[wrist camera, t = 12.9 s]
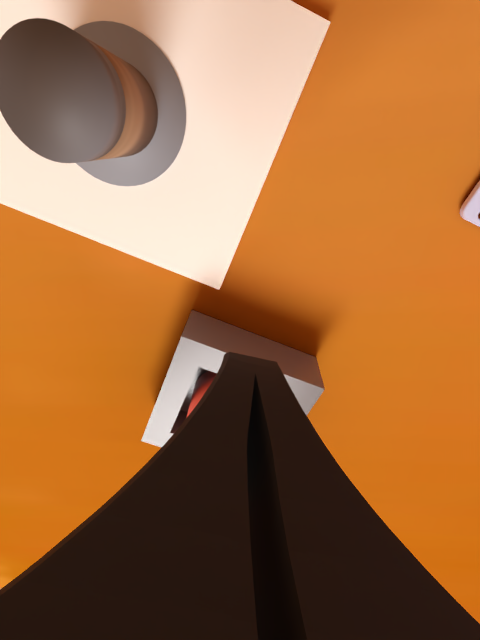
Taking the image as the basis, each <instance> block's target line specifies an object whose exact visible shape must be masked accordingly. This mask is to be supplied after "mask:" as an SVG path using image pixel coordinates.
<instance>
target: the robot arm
mask: <svg viewBox="0 0 480 640" xmlns="http://www.w3.org/2000/svg"><path fill="white" fill-rule="evenodd" d="M479 212H480V180H479V182H478V183H477V185H476V186H475V187H474V189H473V190H472V192H471V193H470V195H469V196H468V197H467V199H466V200H465V202H464V203H463V205H462V206H461V209H460V215H461V217H462V218H463V219H464V220H467V221H469V222H471V223H473V224H475V225H477V226H479V227H480V219H478V215H479ZM0 640H480V624H479V623H478V622H477V621H476V620H475V619H474V618H473V617H472V616H471V615H470V614H469V613H468V612H467V611H466V610H465V609H464V608H463V607H462V606H461V605H460V604H459V603H458V602H457V601H456V600H455V599H454V598H453V597H452V596H451V595H450V594H449V593H448V592H447V591H446V590H445V589H444V588H443V587H442V586H441V585H440V584H439V582H438V581H437V580H436V579H435V578H434V577H433V576H432V575H431V574H430V573H429V572H428V571H427V570H426V569H425V568H424V567H423V566H422V564H421V563H420V562H419V561H418V560H417V559H416V558H415V557H414V556H413V554H412V553H411V552H410V551H409V550H408V549H407V548H406V547H405V546H404V544H403V543H402V542H401V541H400V540H399V539H398V538H397V537H396V536H395V534H394V533H393V532H392V531H391V530H390V529H389V528H388V526H387V525H386V524H385V523H384V522H383V521H382V519H381V518H380V517H379V516H378V515H377V514H376V512H375V511H374V510H373V509H372V507H371V506H370V505H369V504H368V502H367V501H366V500H365V499H364V497H363V496H362V495H361V494H360V492H359V491H358V490H357V489H356V487H355V486H354V485H353V484H352V482H351V481H350V480H349V478H348V477H347V476H346V474H345V473H344V472H343V470H342V469H341V468H340V466H339V465H338V463H337V462H336V461H335V459H334V458H333V456H332V455H331V453H330V452H329V450H328V449H327V447H326V446H325V445H324V443H323V441H322V440H321V438H320V437H319V435H318V434H317V432H316V431H315V429H314V427H313V426H312V424H311V422H310V421H309V419H308V417H307V416H306V414H305V412H304V411H303V409H302V407H301V406H300V404H299V402H298V400H297V398H296V397H295V395H294V393H293V391H292V389H291V387H290V386H289V384H288V382H287V380H286V378H285V376H284V374H283V372H282V370H281V369H280V367H279V365H278V363H277V362H275V361H271V360H266V359H261V358H257V357H252V356H247V355H243V354H238V353H233V352H228V353H226V354H224V357H223V361H222V364H221V366H220V368H219V370H218V372H217V374H216V376H215V378H214V380H213V381H212V383H211V385H210V386H209V388H208V389H207V391H206V392H205V394H204V395H203V397H202V398H201V400H200V401H199V402H198V404H197V405H196V407H195V408H194V409H193V410H192V412H191V413H190V414H189V416H188V417H187V418H186V419H185V421H184V422H183V423H182V424H181V426H180V427H179V428H178V429H177V431H176V432H175V433H174V434H173V435H172V436H171V438H170V439H169V440H168V441H167V442H166V443H165V444H164V445H163V447H162V448H161V449H160V450H159V451H158V452H157V453H156V454H155V455H154V456H153V457H152V458H151V459H150V460H149V462H148V463H147V464H146V465H145V466H144V467H143V468H142V469H141V470H140V471H138V472H137V473H136V474H135V475H134V476H133V477H132V478H131V479H130V480H129V481H128V482H127V483H126V484H125V485H124V486H123V487H122V488H121V489H120V490H119V491H118V492H117V493H116V494H115V495H114V496H113V497H111V498H110V499H109V500H108V501H107V502H106V503H105V504H104V505H103V506H102V507H100V508H99V509H98V510H97V511H96V512H95V513H94V514H92V515H91V516H90V517H89V518H88V519H86V520H85V521H84V522H83V523H82V524H81V525H79V526H78V527H77V528H76V529H75V530H73V531H72V532H71V533H70V534H69V535H68V536H66V537H65V538H64V539H63V540H62V541H60V542H59V543H58V544H57V545H56V546H55V547H53V548H52V549H51V550H50V551H49V552H47V553H46V554H45V555H44V556H43V557H42V558H40V559H39V560H38V561H37V562H35V563H34V564H33V565H32V566H30V567H29V568H28V569H27V570H25V571H24V572H23V573H22V574H20V575H19V576H18V577H16V578H15V579H14V580H12V581H11V582H10V583H8V584H7V585H6V586H5V587H3V588H2V589H1V590H0Z"/></svg>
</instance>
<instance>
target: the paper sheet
mask: <svg viewBox="0 0 480 640" xmlns="http://www.w3.org/2000/svg"><path fill="white" fill-rule="evenodd" d="M32 18H44V19H49V20H54V21H56V22H59V23H61V24H63V25H65V26H67V27H69V28H71V29H72V30H74V31H76V32H77V33H79V34H81V35H82V36H84V37H86V38H87V39H89V40H91V41H92V42H94V43H96V44H97V45H99V46H101V47H102V48H104V49H106V50H107V51H109V52H111V53H113V54H114V55H116V56H118V57H119V58H121V59H123V60H124V61H126V62H128V63H129V64H131V65H132V66H134V67H135V68H136V69H137V70H138V71H139V72H141V74H142V75H143V76H144V77H145V78H146V80H147V81H148V83H149V85H150V86H151V88H152V90H153V93H154V96H155V99H156V103H157V109H158V122H157V128H156V131H155V134H154V136H153V138H152V140H151V142H150V143H149V144H148V145H147V147H146V148H144V149H143V150H142V151H141V152H139V153H137V154H135V155H132V156H127V157H119V158H111V159H103V160H95V161H87V162H79V163H60V162H55V161H52V160H49V159H46V158H44V157H42V156H40V155H38V154H37V153H35V152H34V151H32V150H31V149H29V148H28V147H27V146H26V145H25V144H24V143H23V142H21V141H20V140H19V139H18V137H17V136H16V135H15V134H14V133H13V131H12V130H11V129H10V127H9V126H8V124H7V123H6V121H5V119H4V117H3V115H2V113H1V111H0V203H1V204H4V205H6V206H9V207H11V208H14V209H16V210H19V211H21V212H24V213H26V214H29V215H31V216H34V217H36V218H39V219H41V220H44V221H46V222H49V223H52V224H54V225H57V226H59V227H62V228H64V229H67V230H69V231H72V232H74V233H77V234H79V235H82V236H84V237H87V238H89V239H92V240H95V241H97V242H100V243H102V244H105V245H107V246H110V247H112V248H115V249H117V250H120V251H122V252H125V253H127V254H130V255H132V256H135V257H137V258H140V259H143V260H145V261H148V262H150V263H153V264H155V265H158V266H160V267H163V268H165V269H168V270H170V271H173V272H175V273H178V274H180V275H183V276H185V277H188V278H191V279H193V280H196V281H198V282H201V283H203V284H206V285H208V286H211V287H213V288H216V289H218V290H220V287H221V285H222V282H223V280H224V278H225V275H226V273H227V270H228V268H229V266H230V263H231V261H232V258H233V256H234V254H235V251H236V249H237V246H238V244H239V241H240V239H241V237H242V234H243V232H244V229H245V227H246V225H247V222H248V220H249V217H250V215H251V213H252V210H253V208H254V205H255V203H256V201H257V198H258V196H259V193H260V191H261V188H262V186H263V184H264V181H265V179H266V176H267V174H268V172H269V169H270V167H271V164H272V162H273V160H274V157H275V155H276V152H277V150H278V148H279V145H280V143H281V140H282V138H283V135H284V133H285V131H286V128H287V126H288V123H289V121H290V119H291V116H292V114H293V111H294V109H295V107H296V104H297V102H298V99H299V97H300V95H301V92H302V90H303V87H304V85H305V82H306V80H307V78H308V75H309V73H310V70H311V68H312V66H313V63H314V61H315V58H316V56H317V54H318V51H319V49H320V46H321V44H322V42H323V39H324V37H325V34H326V32H327V30H328V27H329V25H330V21H328V20H326V19H324V18H322V17H321V16H319V15H317V14H315V13H313V12H311V11H309V10H308V9H306V8H304V7H302V6H300V5H298V4H296V3H295V2H293V1H291V0H0V39H1V37H2V36H3V35H4V34H5V32H6V31H7V30H8V29H9V28H11V27H12V26H13V25H15V24H17V23H18V22H20V21H23V20H27V19H32Z"/></svg>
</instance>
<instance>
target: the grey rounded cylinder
mask: <svg viewBox="0 0 480 640" xmlns="http://www.w3.org/2000/svg"><path fill="white" fill-rule="evenodd" d="M0 111H1V113H2V115H3V117H4V119H5V121H6V123H7V124H8V126H9V127H10V129H11V130H12V131H13V133H14V134H15V135H16V136H17V137H18V139H19V140H20V141H21V142H23V143H24V144H25V145H26V146H27V147H28V148H29V149H31V150H32V151H34V152H35V153H37V154H38V155H40V156H42V157H44V158H46V159H49V160H52V161H55V162H60V163H79V162H87V161H95V160H103V159H111V158H119V157H127V156H132V155H135V154H137V153H139V152H141V151H142V150H143V149H144V148H146V147H147V145H148V144H149V143H150V142H151V140H152V138H153V136H154V134H155V131H156V128H157V122H158V109H157V103H156V99H155V96H154V93H153V90H152V88H151V86H150V85H149V83H148V81H147V80H146V78H145V77H144V76H143V75H142V74H141V72H139V71H138V70H137V69H136V68H135V67H134V66H132V65H131V64H129V63H128V62H126V61H124V60H123V59H121V58H119V57H118V56H116V55H114V54H113V53H111V52H109V51H107V50H106V49H104V48H102V47H101V46H99V45H97V44H96V43H94V42H92V41H91V40H89V39H87V38H86V37H84V36H82V35H81V34H79V33H77V32H76V31H74V30H72V29H71V28H69V27H67V26H65V25H63V24H61V23H59V22H56V21H54V20H49V19H44V18H32V19H27V20H23V21H20V22H18V23H17V24H15V25H13V26H12V27H11V28H9V29H8V30H7V31H6V32H5V34H4V35H3V36H2V37H1V39H0Z"/></svg>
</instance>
